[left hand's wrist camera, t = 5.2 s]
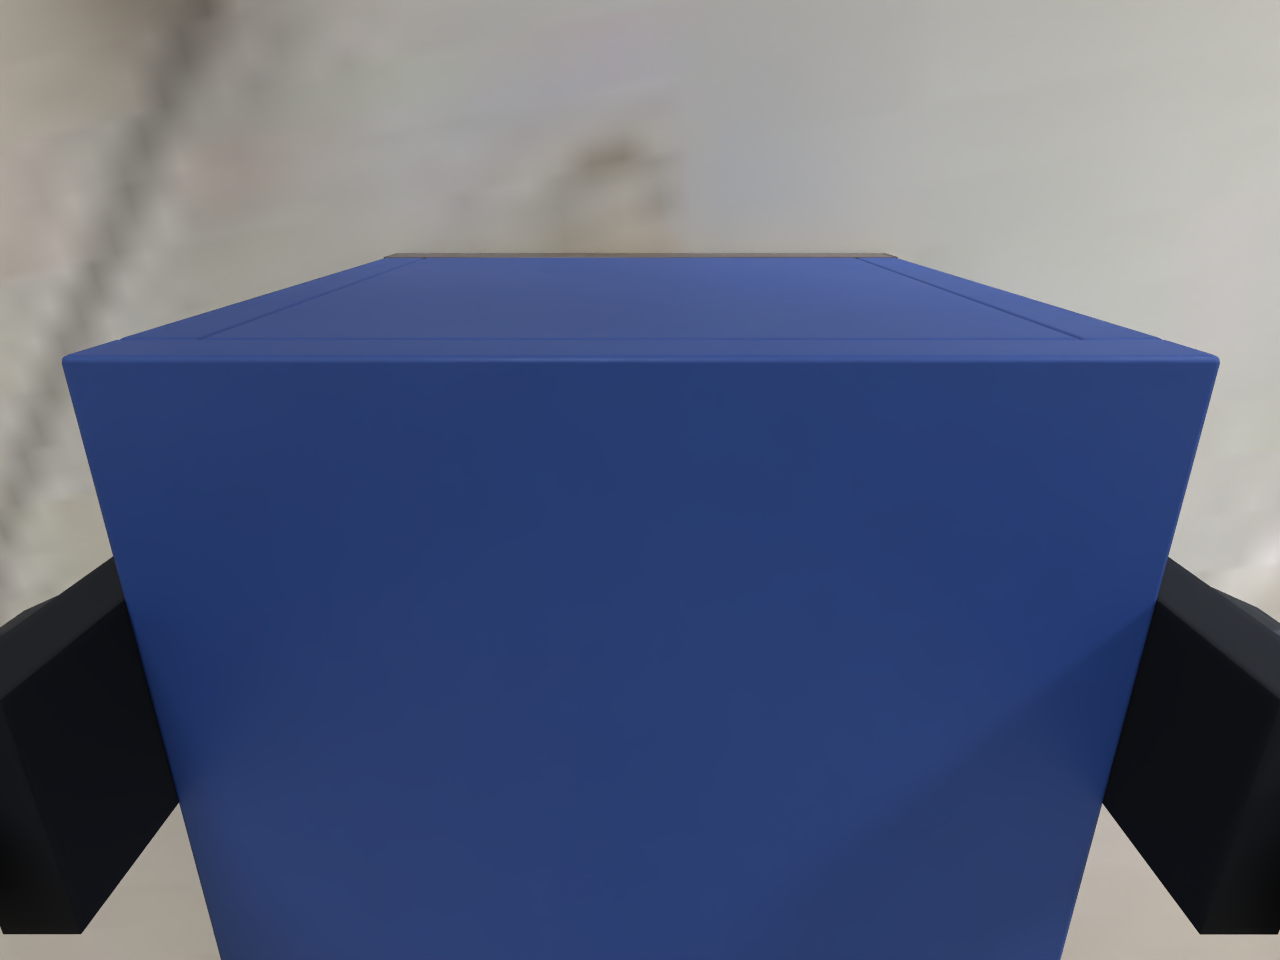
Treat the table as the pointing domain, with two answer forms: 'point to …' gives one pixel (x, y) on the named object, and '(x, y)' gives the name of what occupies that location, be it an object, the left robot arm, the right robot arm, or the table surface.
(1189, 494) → the table surface
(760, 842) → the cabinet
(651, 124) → the table surface
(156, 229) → the table surface
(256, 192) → the table surface
